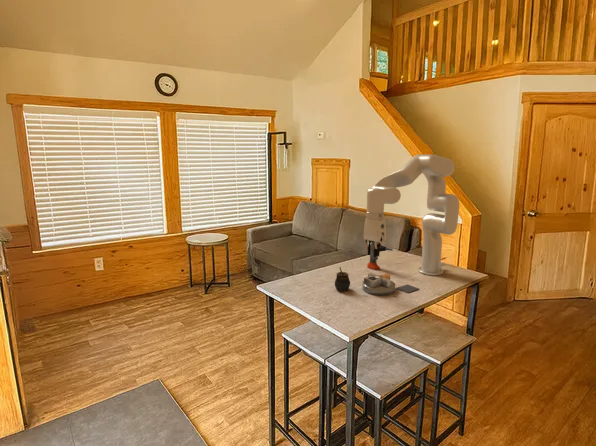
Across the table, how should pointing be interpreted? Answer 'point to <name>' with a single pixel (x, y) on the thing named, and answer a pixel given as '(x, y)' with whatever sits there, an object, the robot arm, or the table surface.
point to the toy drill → (374, 265)
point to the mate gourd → (342, 281)
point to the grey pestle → (372, 252)
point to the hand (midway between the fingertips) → (373, 255)
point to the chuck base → (379, 289)
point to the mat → (407, 288)
